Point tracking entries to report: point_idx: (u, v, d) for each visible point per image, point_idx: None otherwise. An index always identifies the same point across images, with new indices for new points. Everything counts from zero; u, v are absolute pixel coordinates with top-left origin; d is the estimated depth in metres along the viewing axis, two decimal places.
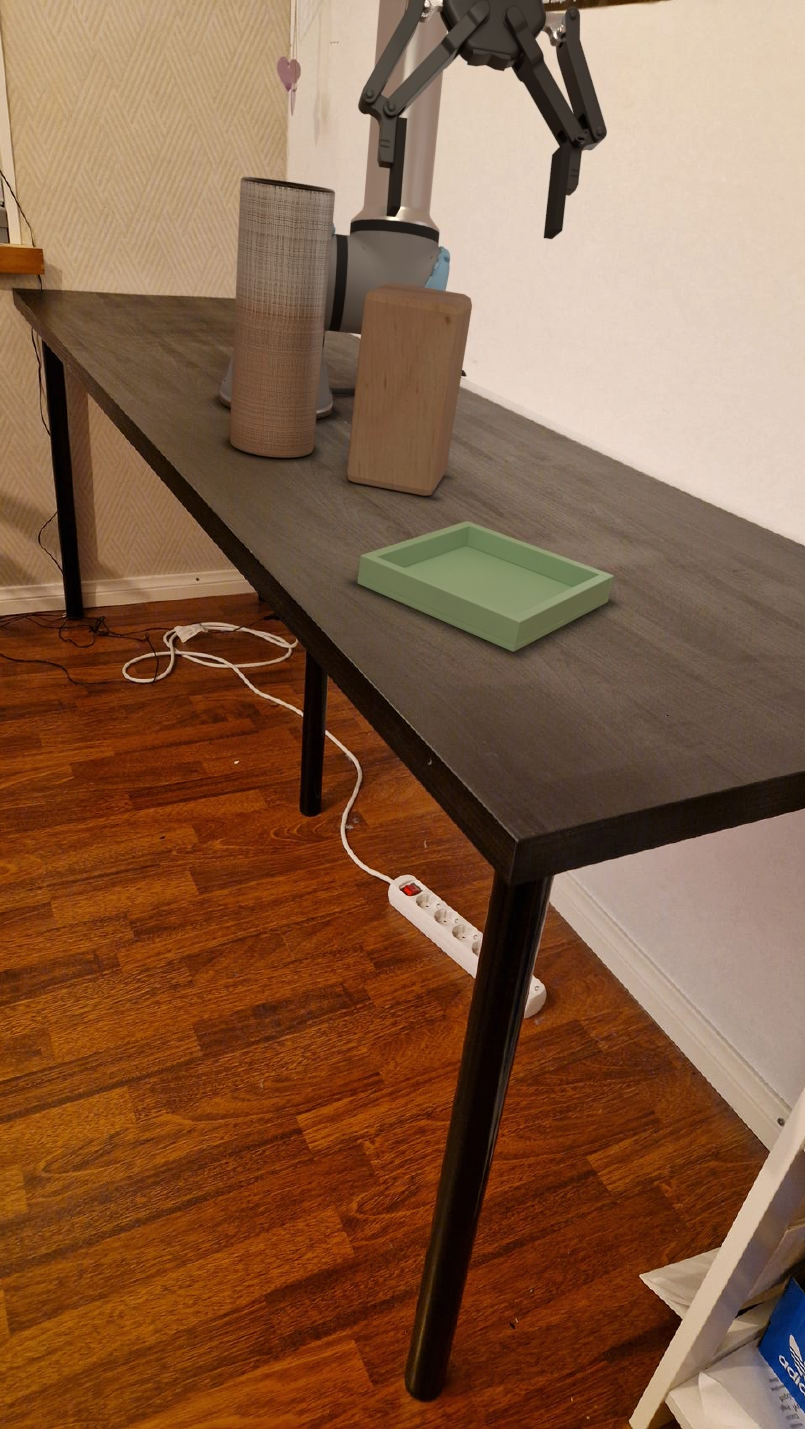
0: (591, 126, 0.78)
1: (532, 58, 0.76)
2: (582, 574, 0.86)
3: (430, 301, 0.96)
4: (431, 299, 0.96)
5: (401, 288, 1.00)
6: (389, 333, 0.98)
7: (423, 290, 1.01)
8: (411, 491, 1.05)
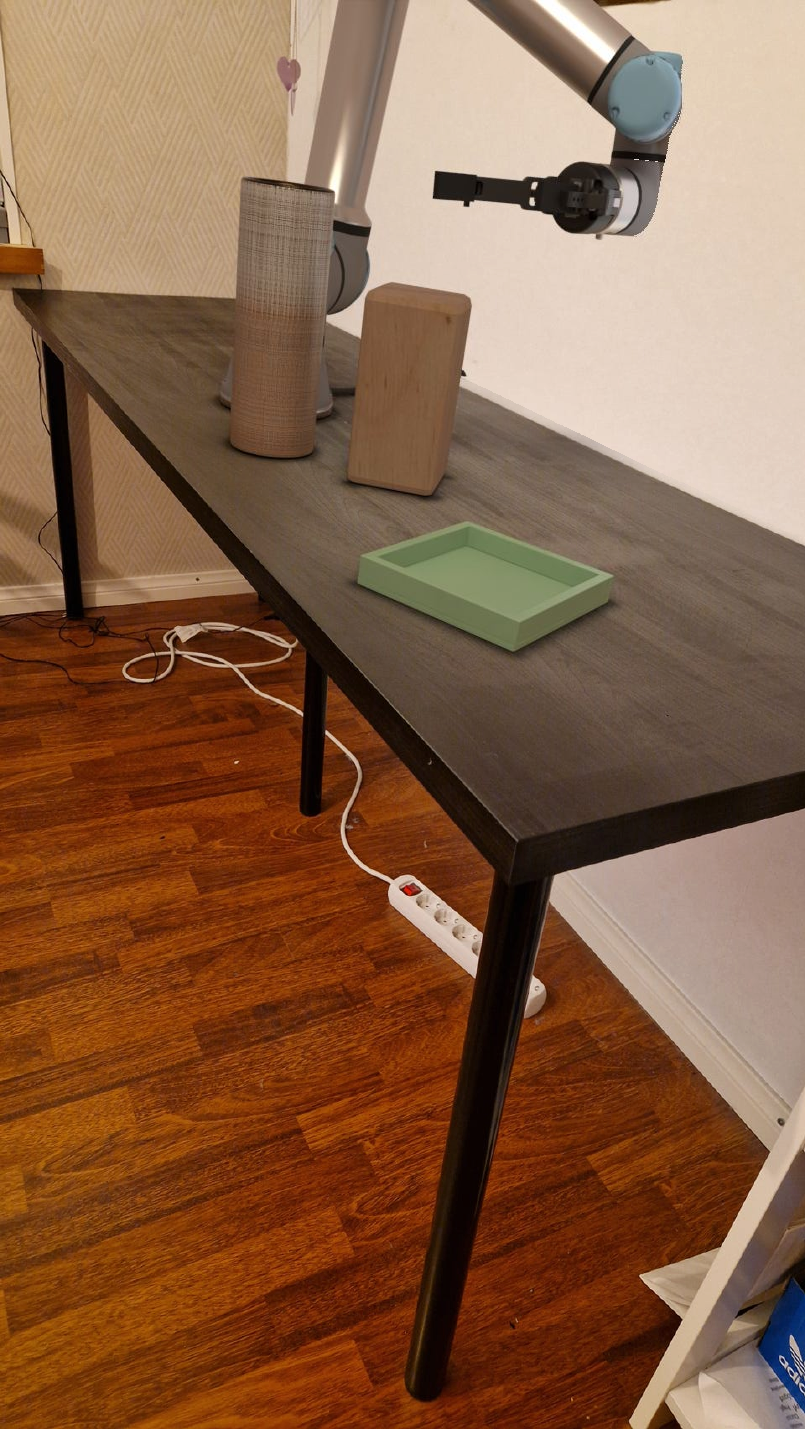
0: None
1: None
2: (582, 574, 0.86)
3: (431, 301, 0.96)
4: (431, 299, 0.96)
5: (401, 288, 1.00)
6: (390, 333, 0.98)
7: (423, 290, 1.01)
8: (411, 491, 1.05)
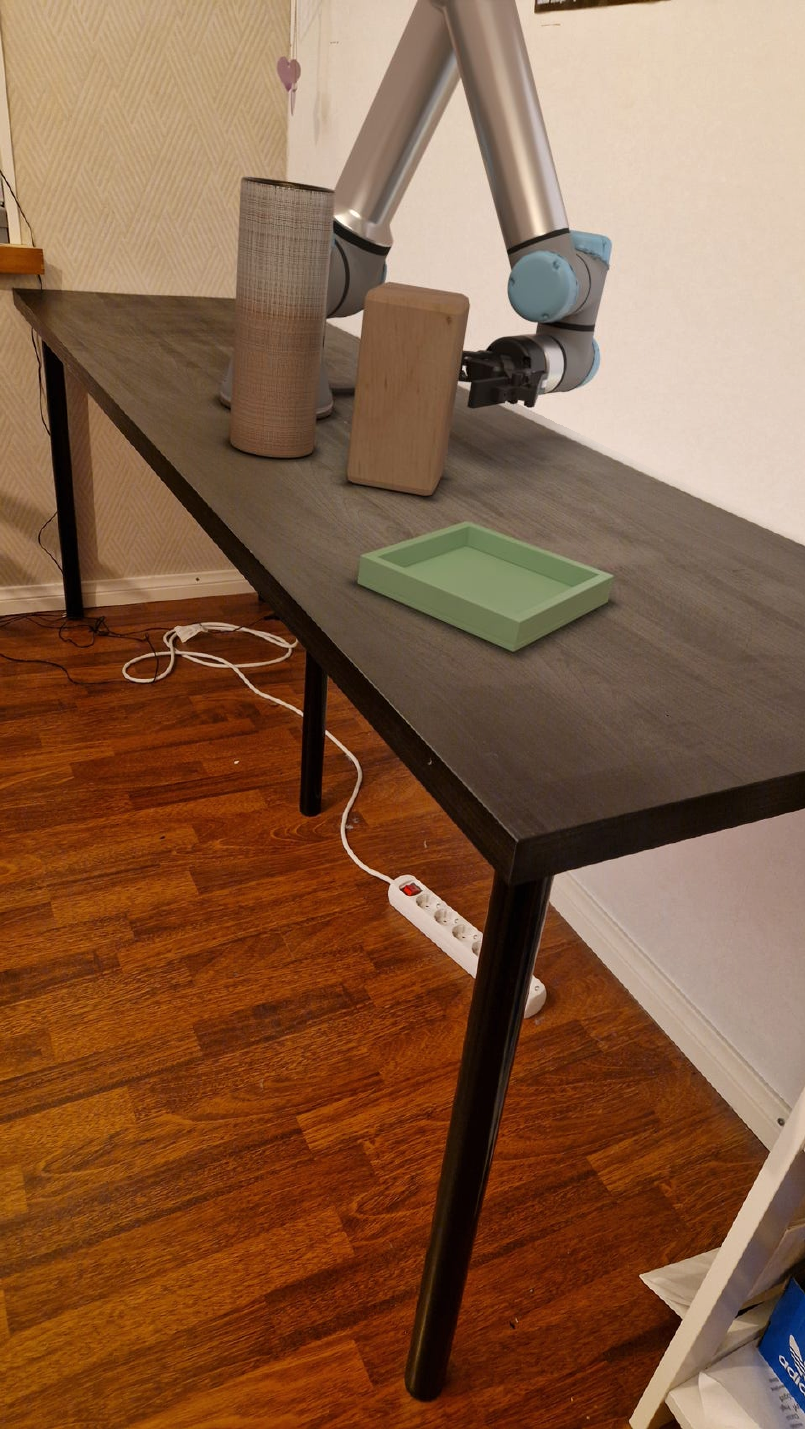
0: None
1: None
2: (582, 574, 0.86)
3: (431, 301, 0.96)
4: (432, 299, 0.96)
5: (400, 288, 1.00)
6: (390, 334, 0.98)
7: (422, 290, 1.01)
8: (412, 491, 1.05)
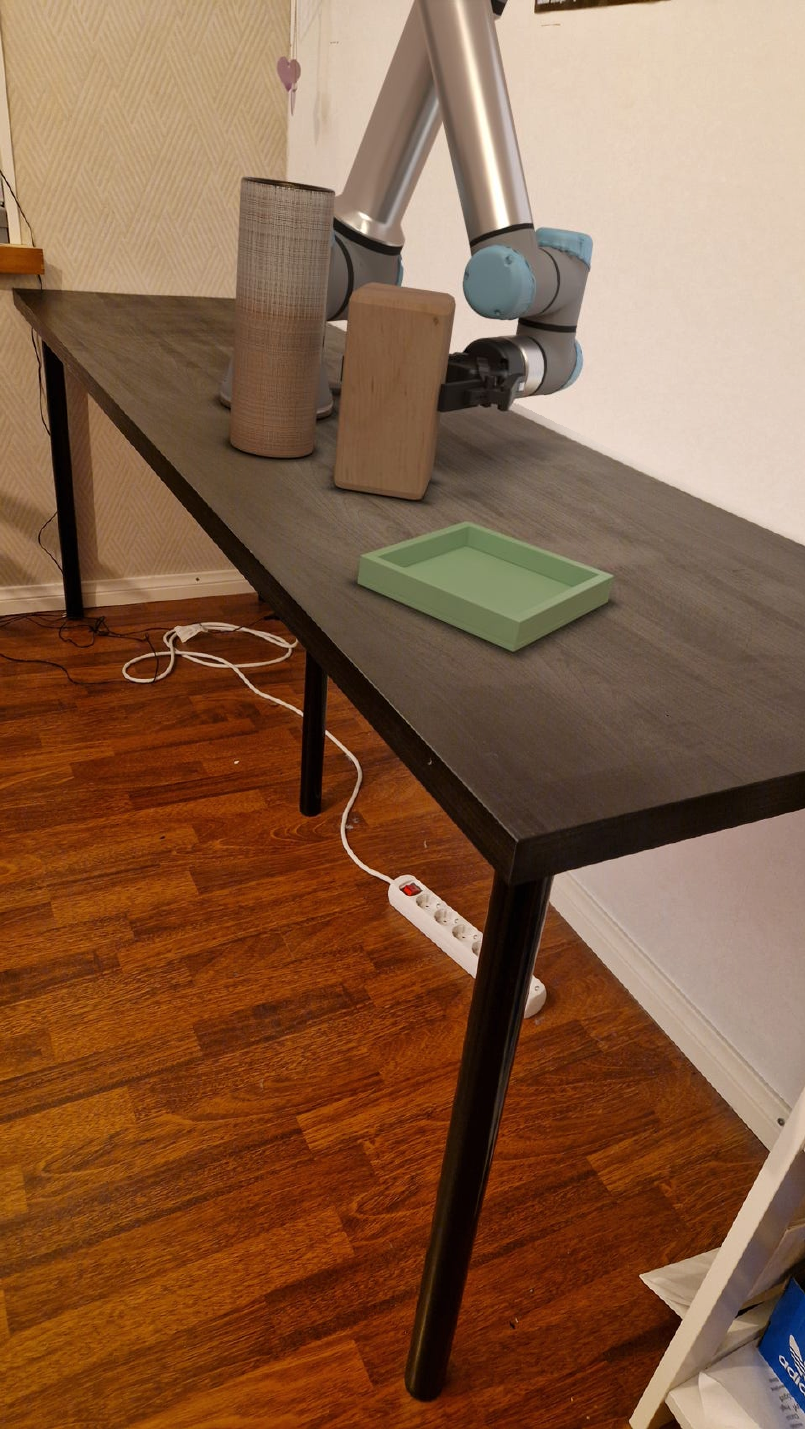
0: None
1: None
2: (582, 574, 0.86)
3: (417, 302, 0.94)
4: (418, 299, 0.94)
5: (385, 288, 0.98)
6: (376, 335, 0.95)
7: (407, 290, 0.99)
8: (401, 495, 1.03)
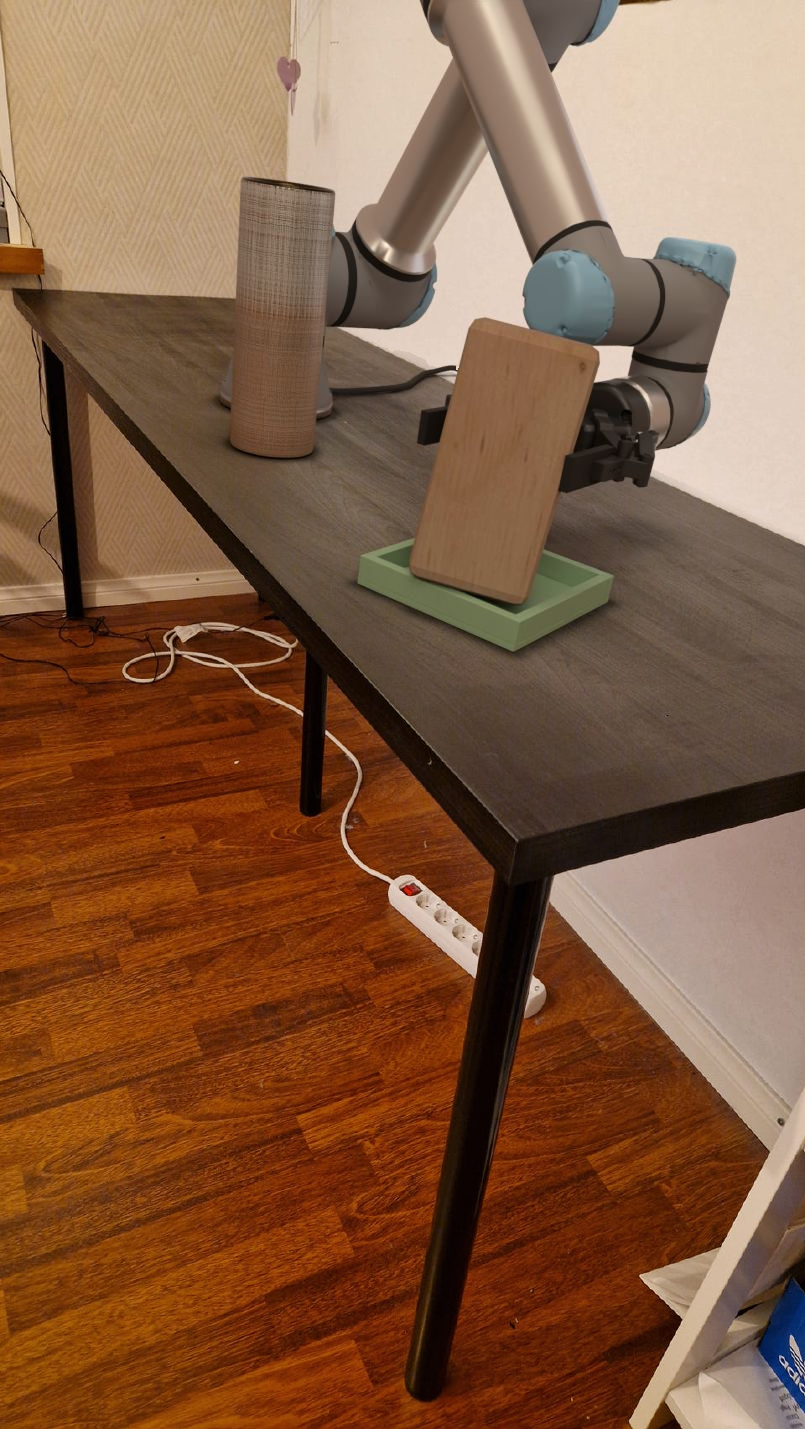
0: None
1: None
2: (582, 574, 0.86)
3: (560, 340, 0.70)
4: (561, 338, 0.70)
5: None
6: (498, 377, 0.71)
7: None
8: (497, 596, 0.76)
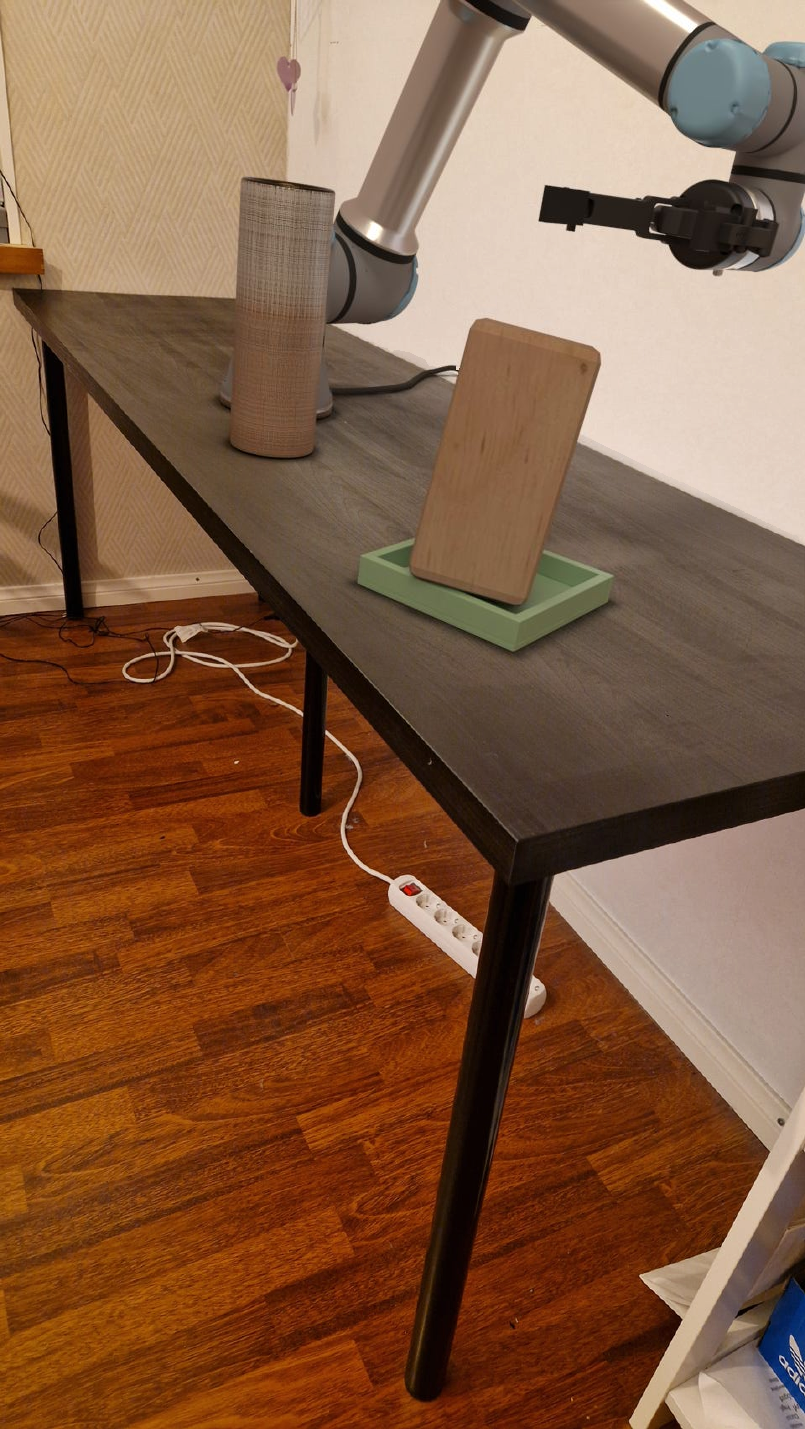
0: None
1: None
2: (582, 574, 0.86)
3: (562, 341, 0.70)
4: (563, 339, 0.70)
5: None
6: (499, 378, 0.71)
7: None
8: (497, 597, 0.76)
